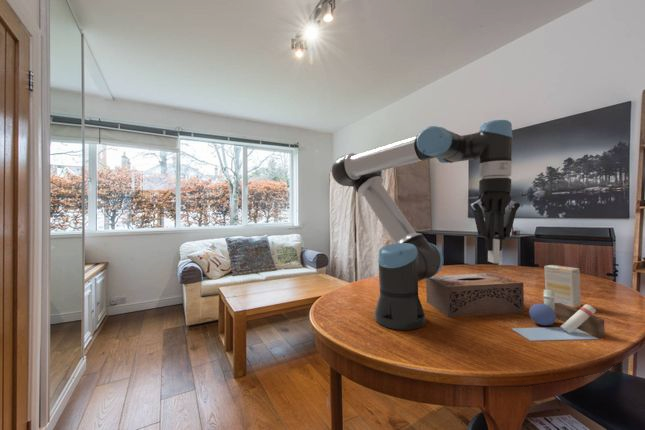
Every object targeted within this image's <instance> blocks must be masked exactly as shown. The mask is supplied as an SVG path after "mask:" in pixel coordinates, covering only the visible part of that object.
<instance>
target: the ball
mask: <svg viewBox="0 0 645 430" xmlns="http://www.w3.org/2000/svg"><path fill="white" fill-rule="evenodd" d="M528 315H529V316H530V317H529V318H530V319H531V320H532V321H533V322H534V323H536V324H537V325H540V326H543V327H547V326H551V325H553V324H555V323H556V320H557V318H556V314H555V312H554V310H553V309H552V308H551V307H549V306H548V305H545V304H544V303H534V304H533V305H531V307H530V308H529V309H528ZM554 322H555V323H554Z"/></svg>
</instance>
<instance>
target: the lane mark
mask: <svg viewBox="0 0 645 430" xmlns="http://www.w3.org/2000/svg"><path fill="white" fill-rule="evenodd" d="M511 330H513V332H515V333H517V334H518V335H520V336H522V337H524V338H525V339H527V340H528V341H530V342H543V341H545V342H547V341H549V342H550V341H578V340H579V341H580V340H582V341H583V340H584V341H585V340H599V337H597V336H595V335H593V334H590V333H588V332H586V331H584V330H582V329H580V328H576V329H575V330H574V331H573V332H572V333H571V334H569V333H567V332H565V331H564V330H563V329H562V328H561V327H560V326H554V327H553V326H550V327H547V326H543V327H515V328H513V327H511Z"/></svg>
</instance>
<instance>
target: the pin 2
mask: <svg viewBox="0 0 645 430" xmlns="http://www.w3.org/2000/svg"><path fill="white" fill-rule="evenodd" d="M596 312H597V310H596V308H594V307H593V306H592V305H589V304H587V303H586V304H584V305H582V306H581V307H579V308H578V311H577V312H576V313H575V314H574V315H573V316H572V317H570V318H569V319H568V320H567V321H566V322H563V323H562V324H561V325H559V327H561V328H562V329H563V330H564V331H565V332H567V333H569V334H571V333H572V332H573V331H574V330H575V329H579V328H578V327H579V326H580V325H581V324H582V323H583V322H584V321H586V320H587V319H588V318H589V317H590V316H592V315H593V314H595V313H596ZM593 316H594V315H593Z"/></svg>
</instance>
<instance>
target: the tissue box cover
mask: <svg viewBox="0 0 645 430" xmlns="http://www.w3.org/2000/svg"><path fill="white" fill-rule="evenodd" d="M425 290H426V291H425V292H426V303H427V304H429V305H430V306H431V307H433V308H434V309H436V310H437V311H439V312H440V313H441V314H443V315H445V316H446V317H447V318H454V317H471V316H487V315H488V316H489V315H502V314H517V313H518V314H519V313H525V302H524V299H525V297H524V293H525V292H524V282H522V281H519V280H516V279H513V278H510V277H506V276H504V275H500V274H496V273H494V272H483V273H465V274H464V273H463V274H462V273H461V274H460V273H459V274H445V275H444V274H443V275H434V276H432V277H430V278H426V279H425Z"/></svg>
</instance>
